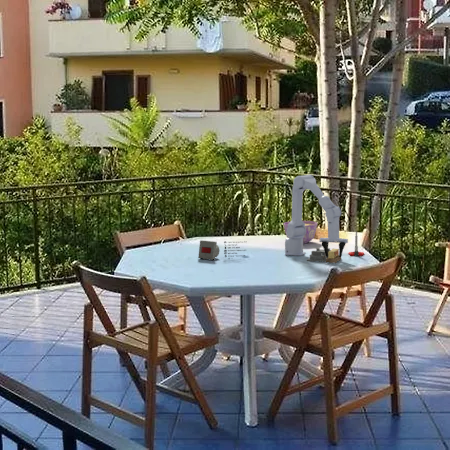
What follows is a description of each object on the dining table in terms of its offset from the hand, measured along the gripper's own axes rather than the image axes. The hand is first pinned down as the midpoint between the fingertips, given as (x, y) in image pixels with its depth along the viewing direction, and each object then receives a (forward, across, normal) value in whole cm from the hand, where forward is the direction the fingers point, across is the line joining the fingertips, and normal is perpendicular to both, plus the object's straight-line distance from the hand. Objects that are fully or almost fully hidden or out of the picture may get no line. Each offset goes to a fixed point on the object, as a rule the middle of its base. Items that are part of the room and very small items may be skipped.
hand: (333, 256), depth 411 cm
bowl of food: (+2, -33, +48) cm, 58 cm away
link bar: (0, 0, 0) cm, 0 cm away
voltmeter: (+3, -58, -10) cm, 59 cm away
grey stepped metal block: (+2, -8, +4) cm, 9 cm away
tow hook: (+3, +7, +20) cm, 21 cm away
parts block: (+2, 0, 0) cm, 2 cm away
